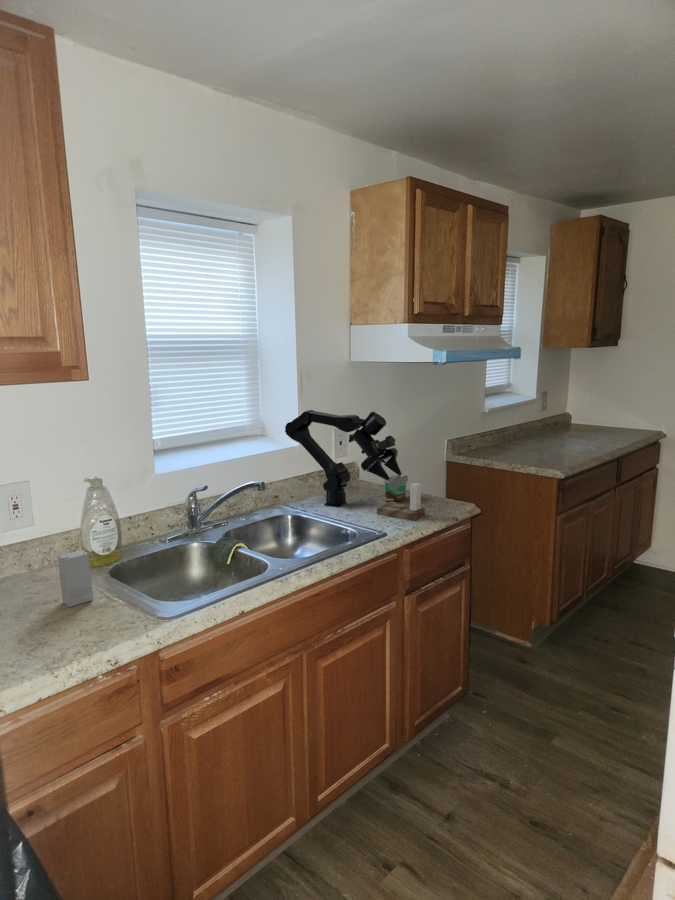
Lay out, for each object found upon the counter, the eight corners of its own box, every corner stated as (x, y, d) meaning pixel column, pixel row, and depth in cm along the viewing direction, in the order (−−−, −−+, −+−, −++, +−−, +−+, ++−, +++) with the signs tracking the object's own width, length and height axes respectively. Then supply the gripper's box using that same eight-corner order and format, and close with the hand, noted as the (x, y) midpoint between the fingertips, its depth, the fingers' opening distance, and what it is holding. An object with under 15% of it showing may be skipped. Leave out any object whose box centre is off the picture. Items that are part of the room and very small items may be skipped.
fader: (409, 509, 207) (410, 484, 206) (414, 507, 210) (414, 482, 208) (416, 510, 206) (416, 485, 204) (420, 508, 209) (420, 483, 207)
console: (376, 514, 212) (376, 507, 212) (387, 509, 219) (387, 502, 218) (415, 520, 204) (415, 513, 204) (424, 515, 211) (425, 508, 210)
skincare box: (87, 595, 147) (83, 548, 145) (94, 600, 144) (90, 553, 141) (61, 602, 143) (56, 554, 141) (68, 608, 140) (63, 559, 137)
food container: (397, 505, 223) (397, 479, 221) (383, 503, 227) (383, 477, 225) (414, 498, 233) (414, 473, 231) (400, 496, 237) (400, 471, 235)
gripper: (368, 432, 202) (397, 467, 199) (393, 425, 218) (420, 458, 214) (349, 453, 208) (376, 487, 204) (374, 445, 223) (400, 477, 220)
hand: (394, 476), depth 210 cm, fingers open, 9 cm apart
